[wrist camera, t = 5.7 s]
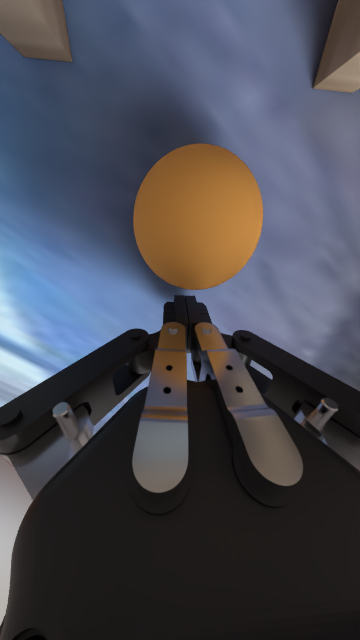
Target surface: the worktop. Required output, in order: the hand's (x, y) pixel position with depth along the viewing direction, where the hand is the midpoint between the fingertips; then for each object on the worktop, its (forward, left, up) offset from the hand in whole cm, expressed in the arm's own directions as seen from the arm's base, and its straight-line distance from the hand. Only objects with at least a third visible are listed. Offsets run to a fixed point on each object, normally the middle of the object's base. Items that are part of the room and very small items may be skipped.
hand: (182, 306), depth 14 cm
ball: (-5, 0, +2) cm, 6 cm away
